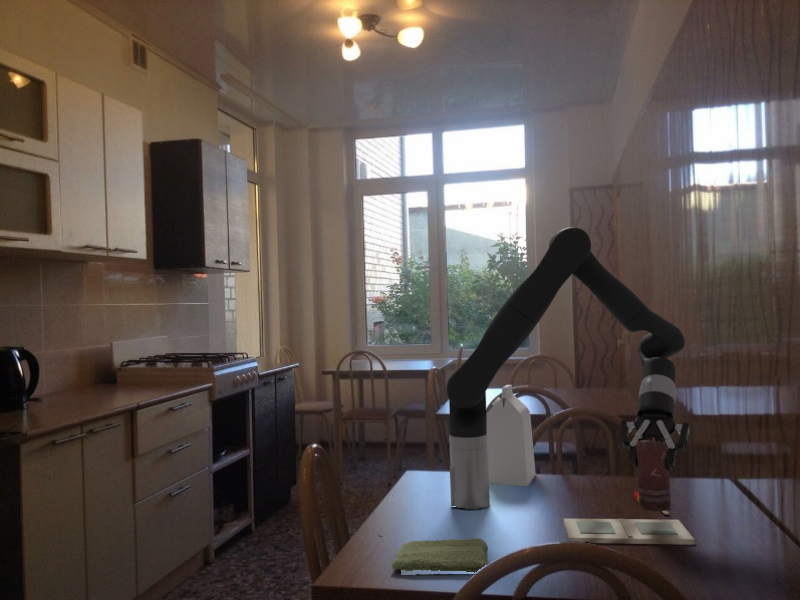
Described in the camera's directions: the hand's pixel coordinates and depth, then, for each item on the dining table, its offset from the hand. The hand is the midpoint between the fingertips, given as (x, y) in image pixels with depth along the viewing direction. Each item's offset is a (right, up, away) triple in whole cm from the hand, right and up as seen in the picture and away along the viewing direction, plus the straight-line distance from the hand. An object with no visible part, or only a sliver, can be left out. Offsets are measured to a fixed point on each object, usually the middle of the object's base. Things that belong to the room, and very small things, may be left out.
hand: (651, 466), depth 133 cm
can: (+1, -9, +1) cm, 9 cm away
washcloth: (-44, -16, -10) cm, 48 cm away
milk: (-21, -16, +48) cm, 55 cm away
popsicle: (+8, -15, +19) cm, 26 cm away
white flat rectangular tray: (-5, -14, +2) cm, 15 cm away
